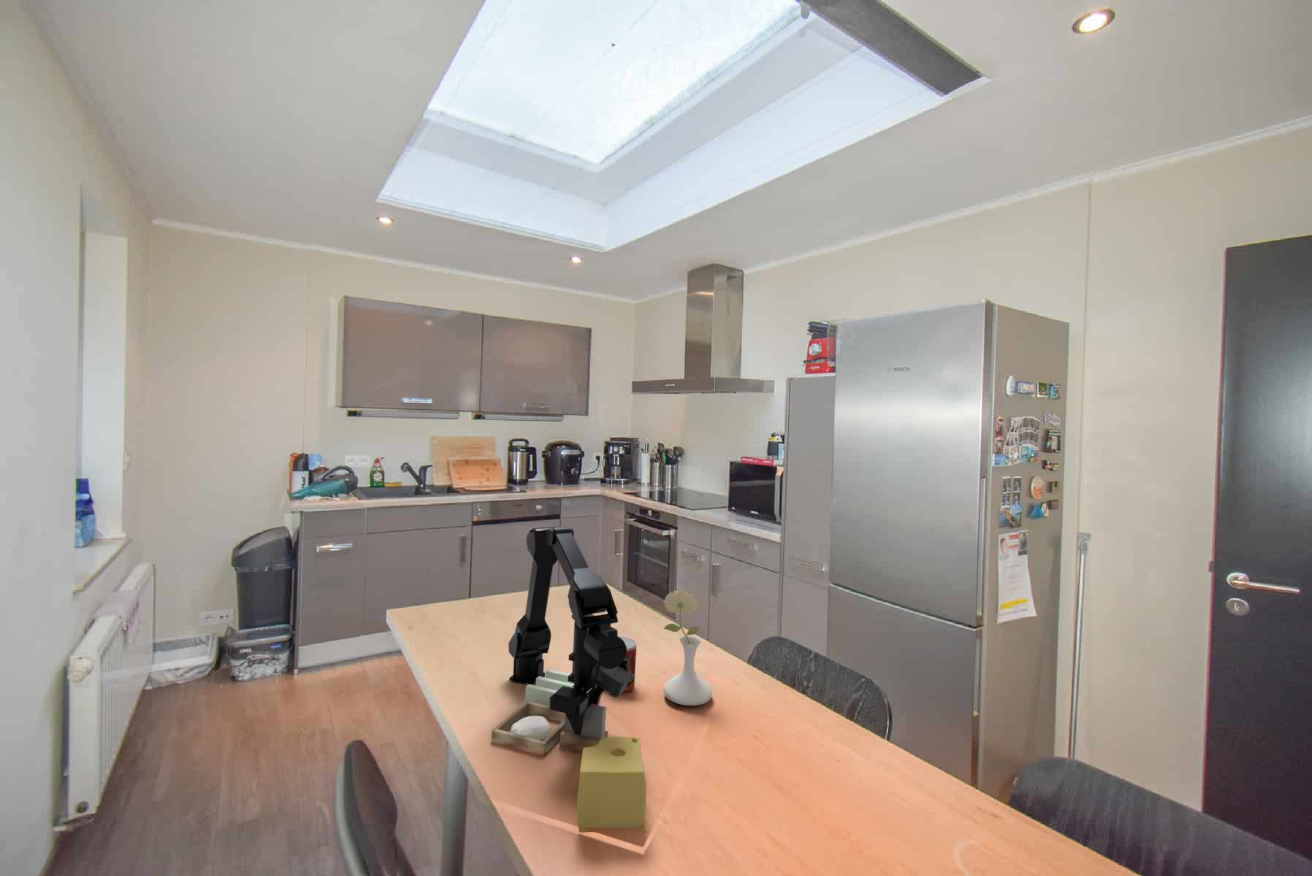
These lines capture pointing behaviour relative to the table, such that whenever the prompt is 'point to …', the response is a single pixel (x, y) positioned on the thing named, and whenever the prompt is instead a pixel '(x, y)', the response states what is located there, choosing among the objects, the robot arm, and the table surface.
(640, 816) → the cheese
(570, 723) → the robot arm
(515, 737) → the garlic trivet frame
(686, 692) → the flower in vase
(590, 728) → the plate
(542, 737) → the garlic
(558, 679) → the dish rack
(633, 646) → the canned food
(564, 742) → the plate stand
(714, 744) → the table surface
